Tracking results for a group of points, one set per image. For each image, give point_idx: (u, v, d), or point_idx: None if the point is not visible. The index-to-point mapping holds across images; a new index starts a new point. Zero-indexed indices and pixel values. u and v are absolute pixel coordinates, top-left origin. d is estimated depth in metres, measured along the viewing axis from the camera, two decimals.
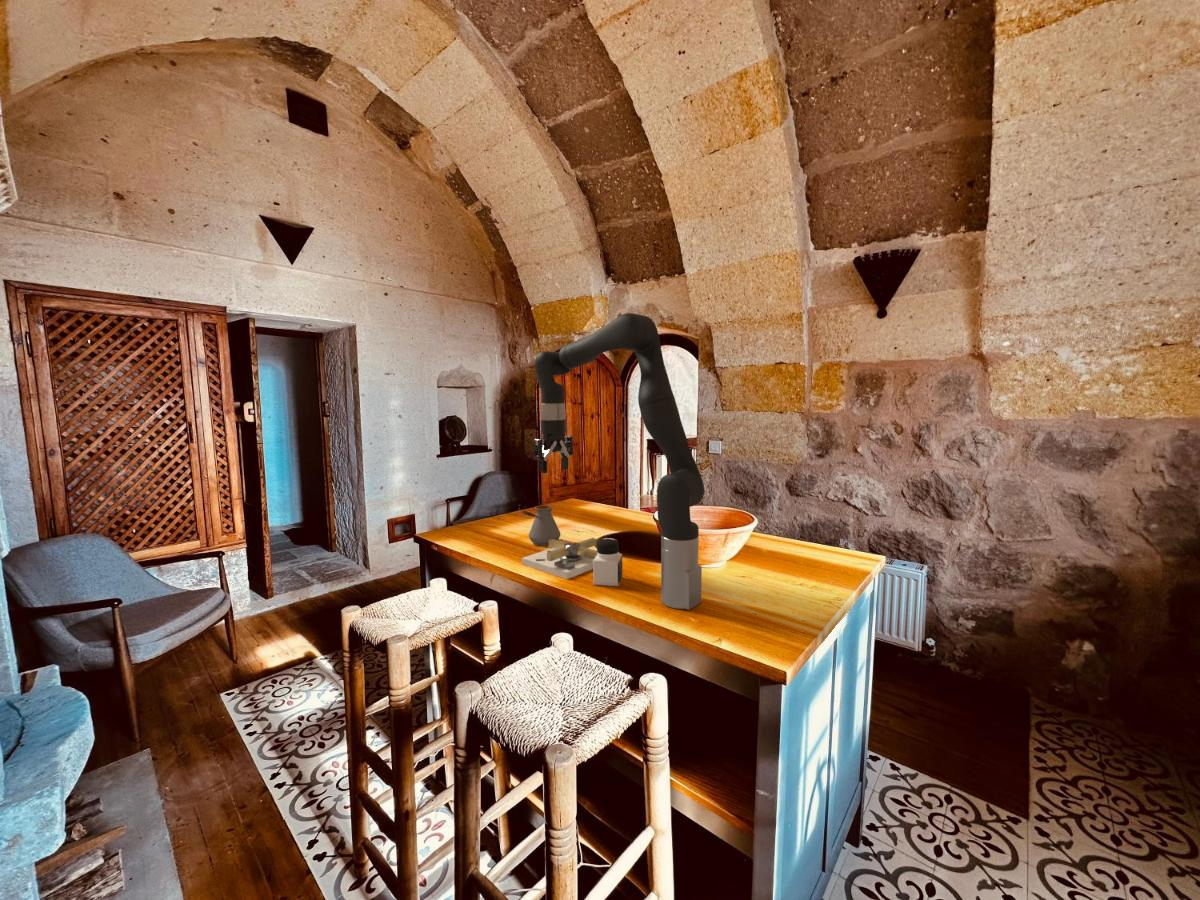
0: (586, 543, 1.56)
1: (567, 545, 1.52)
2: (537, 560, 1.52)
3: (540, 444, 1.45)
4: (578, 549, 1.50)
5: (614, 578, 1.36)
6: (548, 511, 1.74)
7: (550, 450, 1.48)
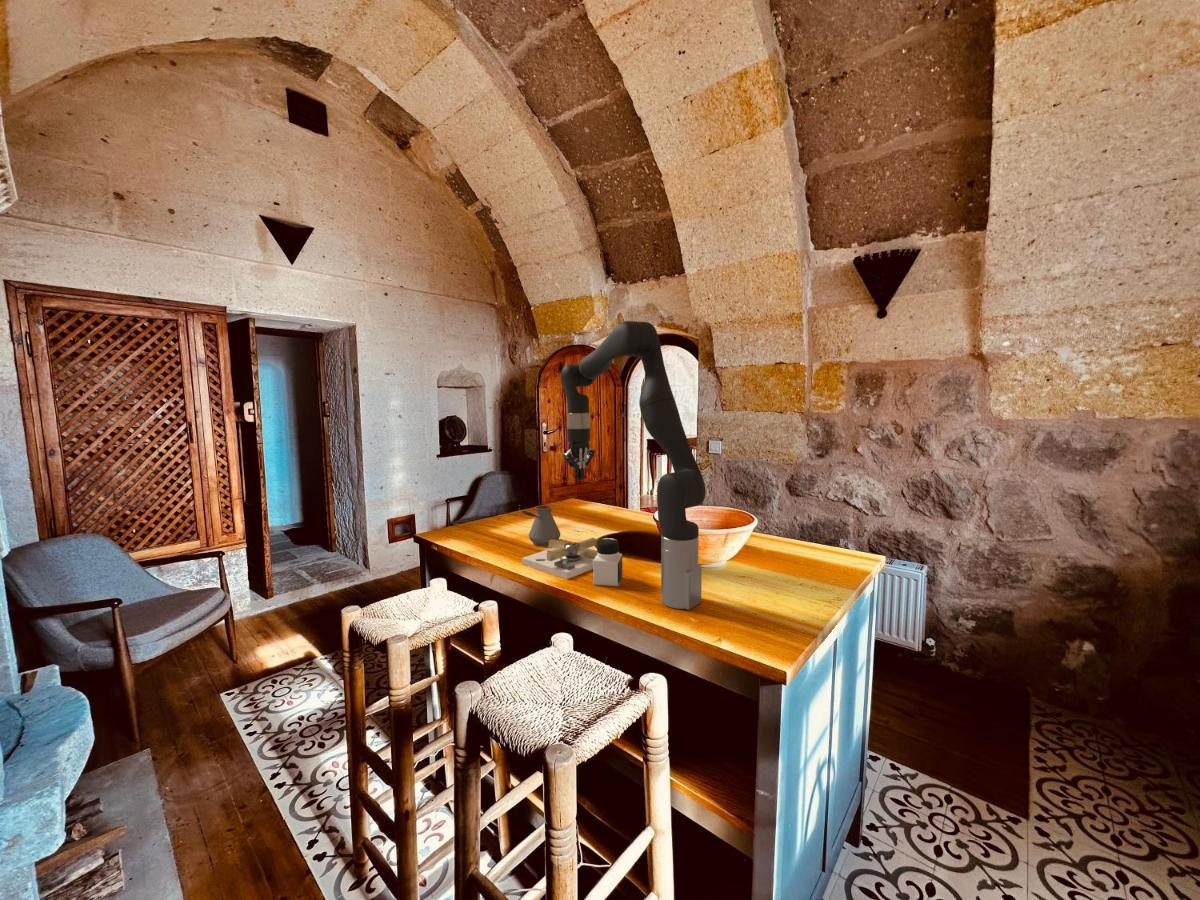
0: (586, 543, 1.56)
1: (567, 545, 1.52)
2: (537, 560, 1.52)
3: (570, 457, 1.56)
4: (578, 549, 1.50)
5: (614, 578, 1.36)
6: (548, 511, 1.74)
7: (580, 458, 1.59)
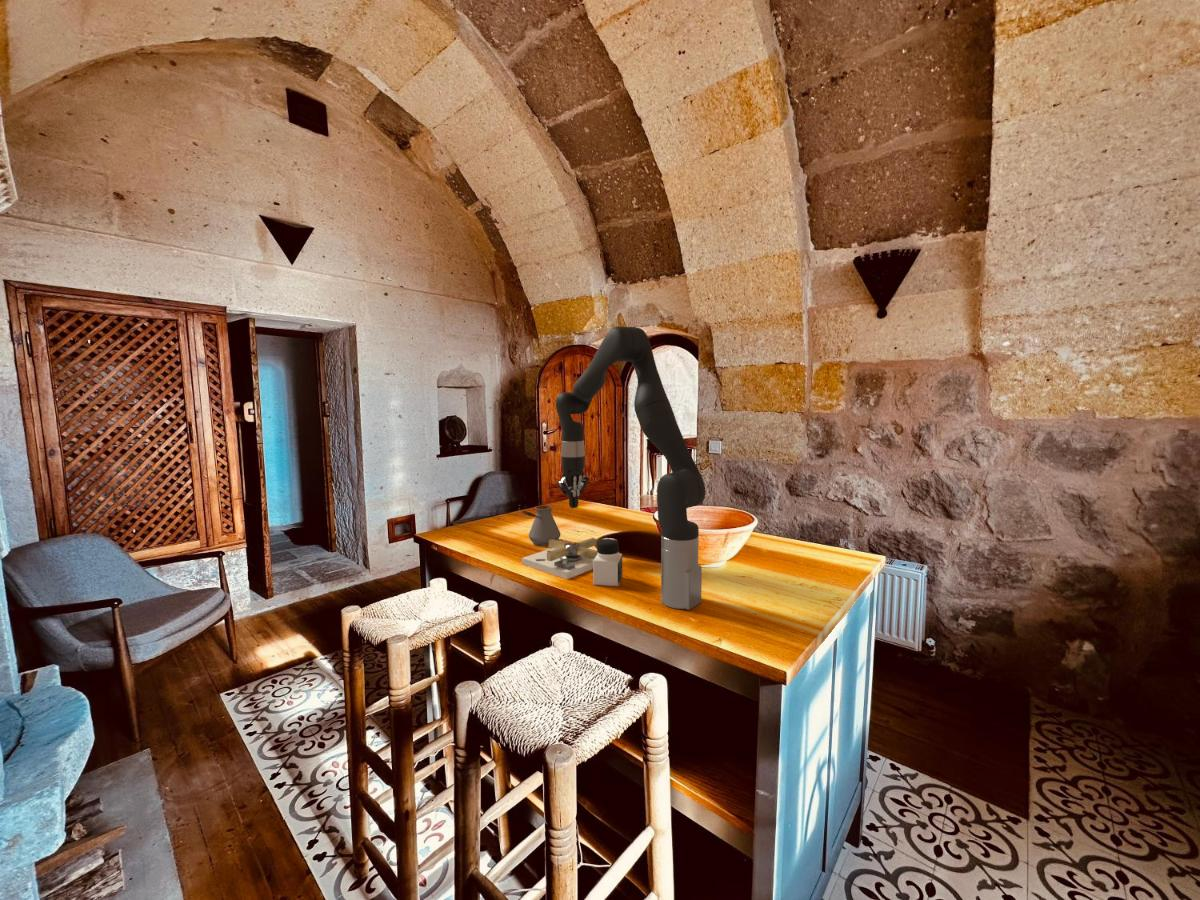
0: (586, 543, 1.56)
1: (567, 545, 1.52)
2: (537, 560, 1.52)
3: (564, 486, 1.55)
4: (578, 549, 1.50)
5: (614, 578, 1.36)
6: (548, 511, 1.74)
7: (574, 486, 1.58)
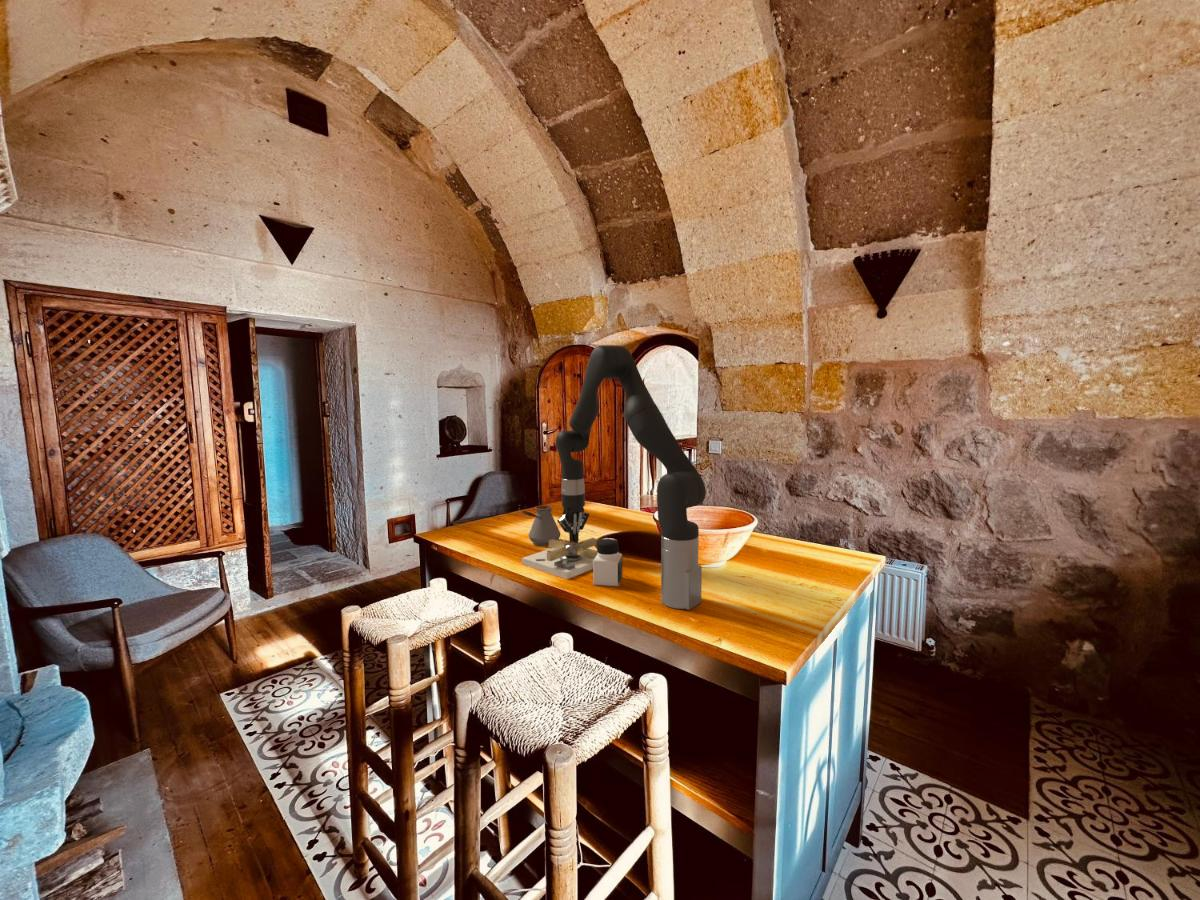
0: (586, 543, 1.56)
1: (567, 545, 1.52)
2: (537, 560, 1.52)
3: (564, 524, 1.56)
4: (578, 549, 1.50)
5: (614, 578, 1.36)
6: (548, 511, 1.74)
7: (574, 523, 1.59)
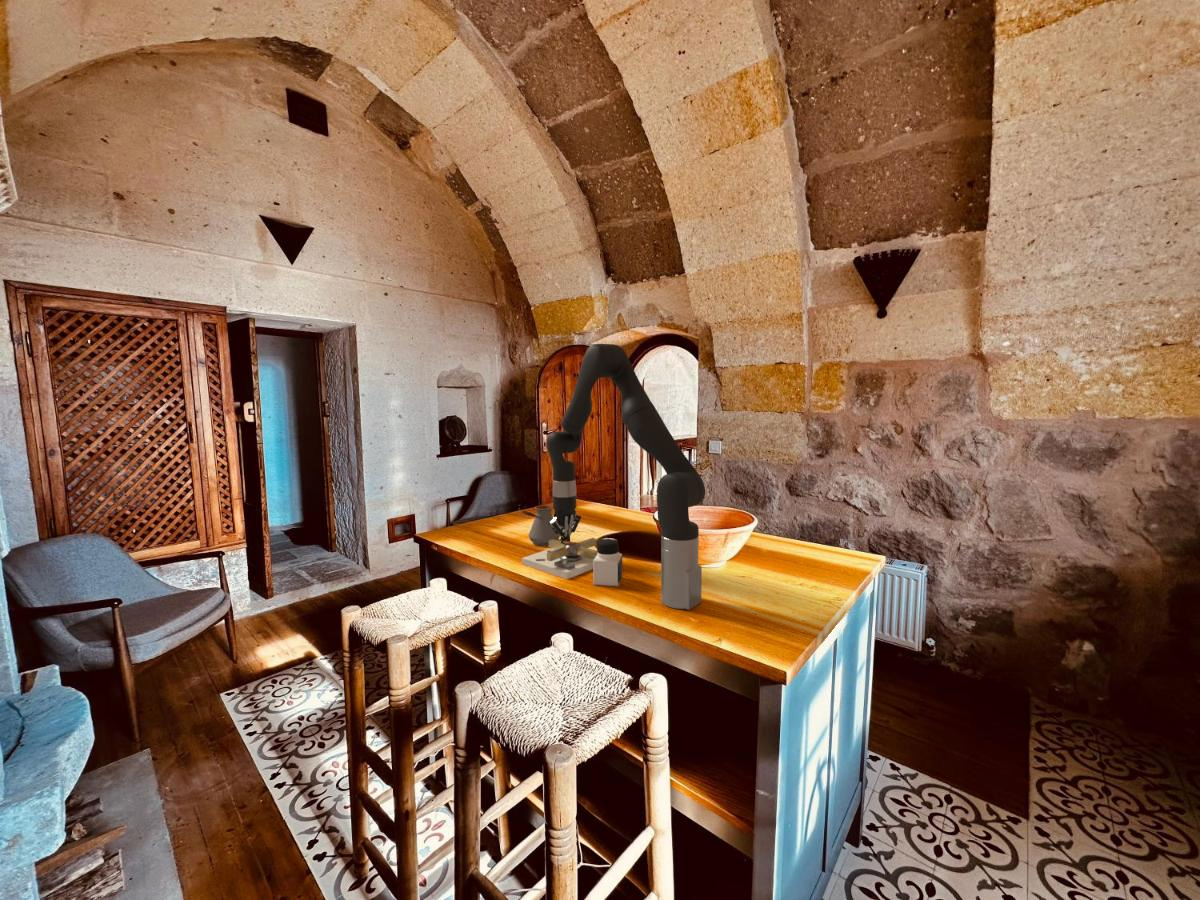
0: (586, 543, 1.56)
1: (567, 545, 1.52)
2: (537, 560, 1.52)
3: (555, 526, 1.53)
4: (578, 549, 1.50)
5: (614, 578, 1.36)
6: (548, 511, 1.74)
7: (566, 526, 1.56)
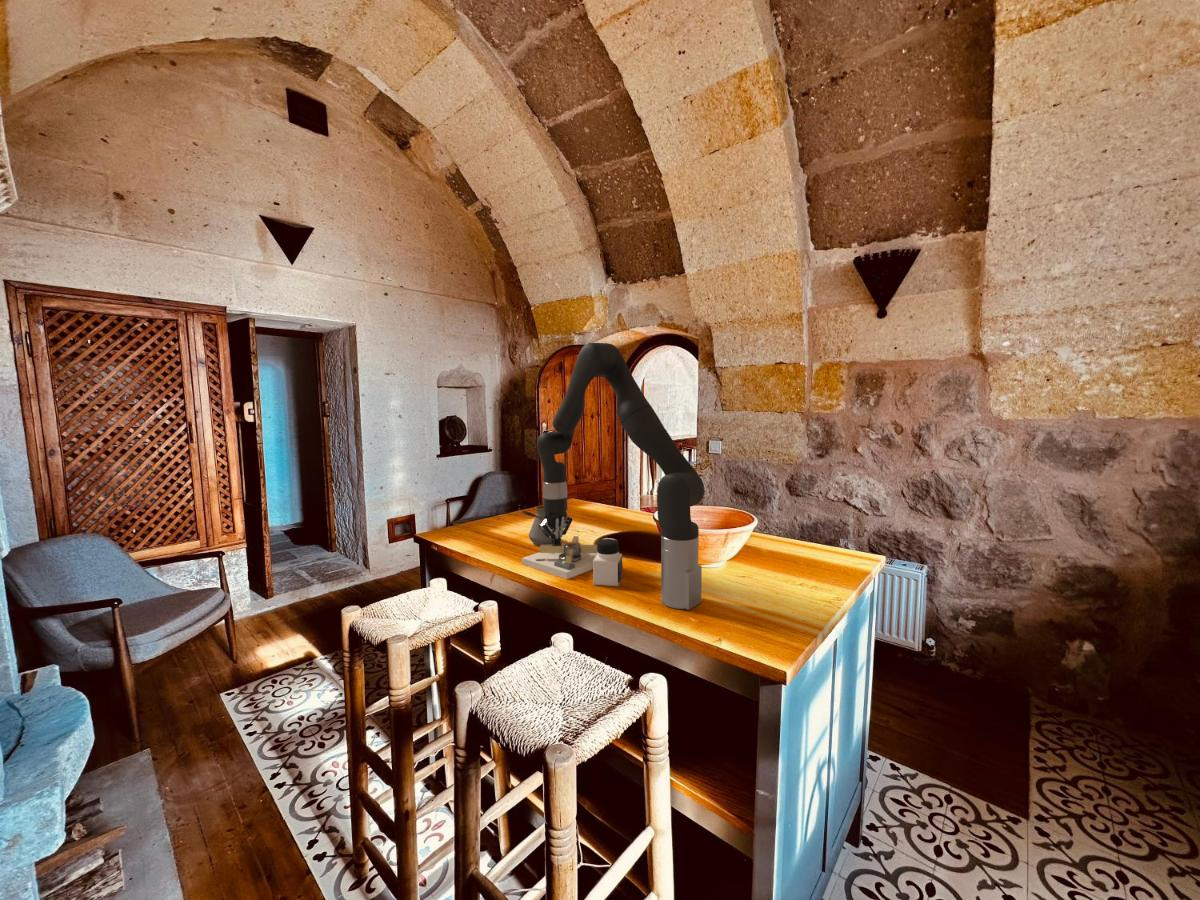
0: None
1: (570, 546, 1.51)
2: (537, 560, 1.52)
3: (546, 529, 1.50)
4: (583, 547, 1.52)
5: (614, 578, 1.36)
6: None
7: (557, 528, 1.53)
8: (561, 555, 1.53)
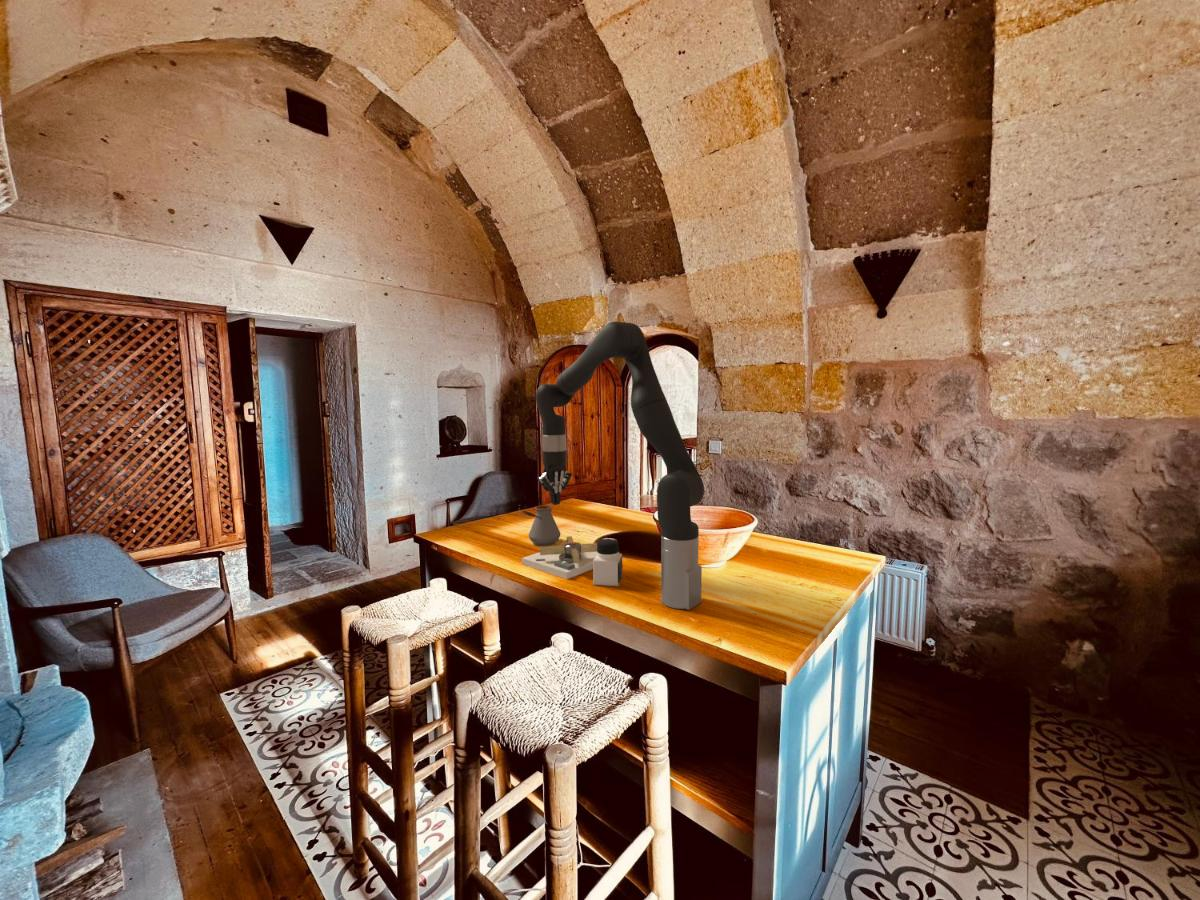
0: None
1: (571, 546, 1.51)
2: (537, 560, 1.52)
3: (545, 482, 1.49)
4: (583, 546, 1.52)
5: (614, 578, 1.36)
6: (548, 511, 1.74)
7: (556, 482, 1.52)
8: (561, 556, 1.53)
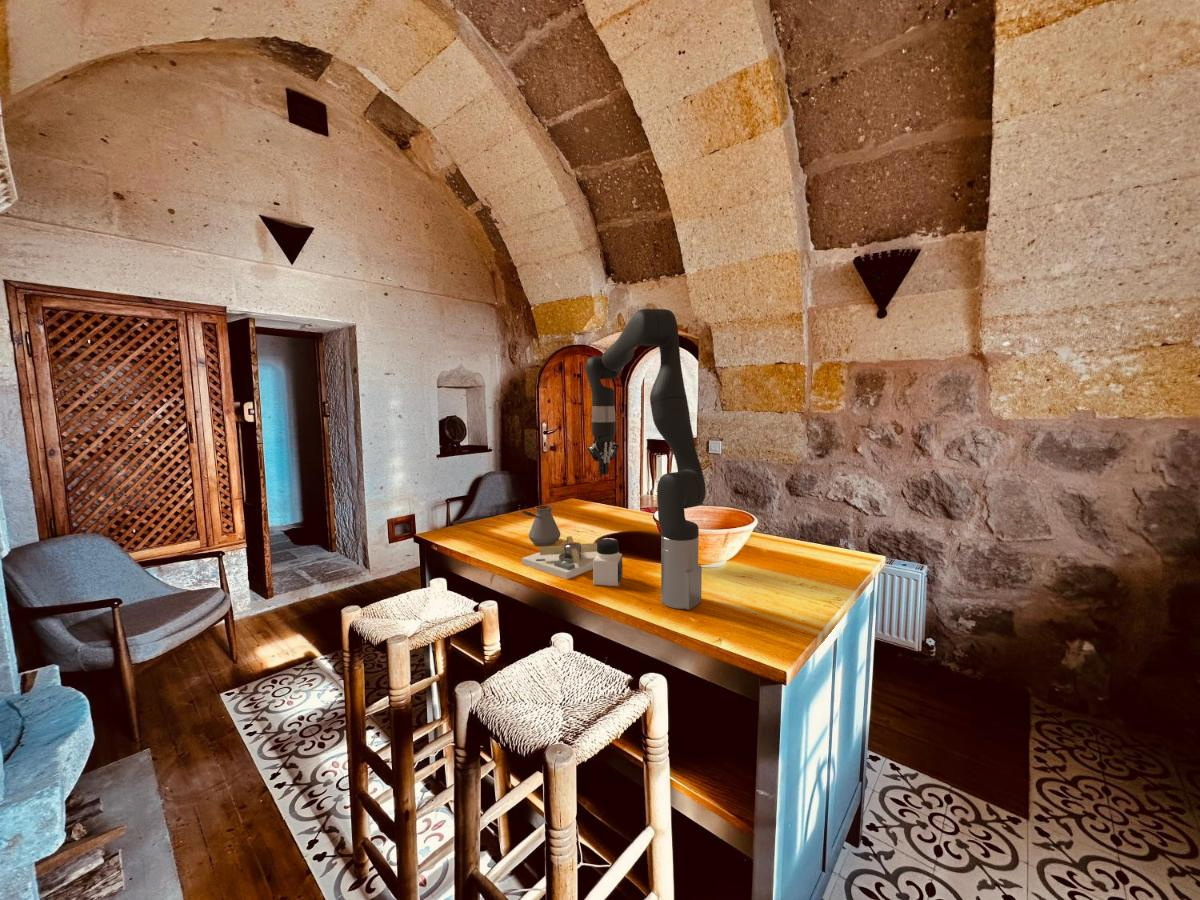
0: None
1: (571, 546, 1.51)
2: (537, 560, 1.52)
3: (595, 451, 1.53)
4: (583, 546, 1.52)
5: (614, 578, 1.36)
6: (548, 511, 1.74)
7: (605, 452, 1.56)
8: (561, 556, 1.53)
